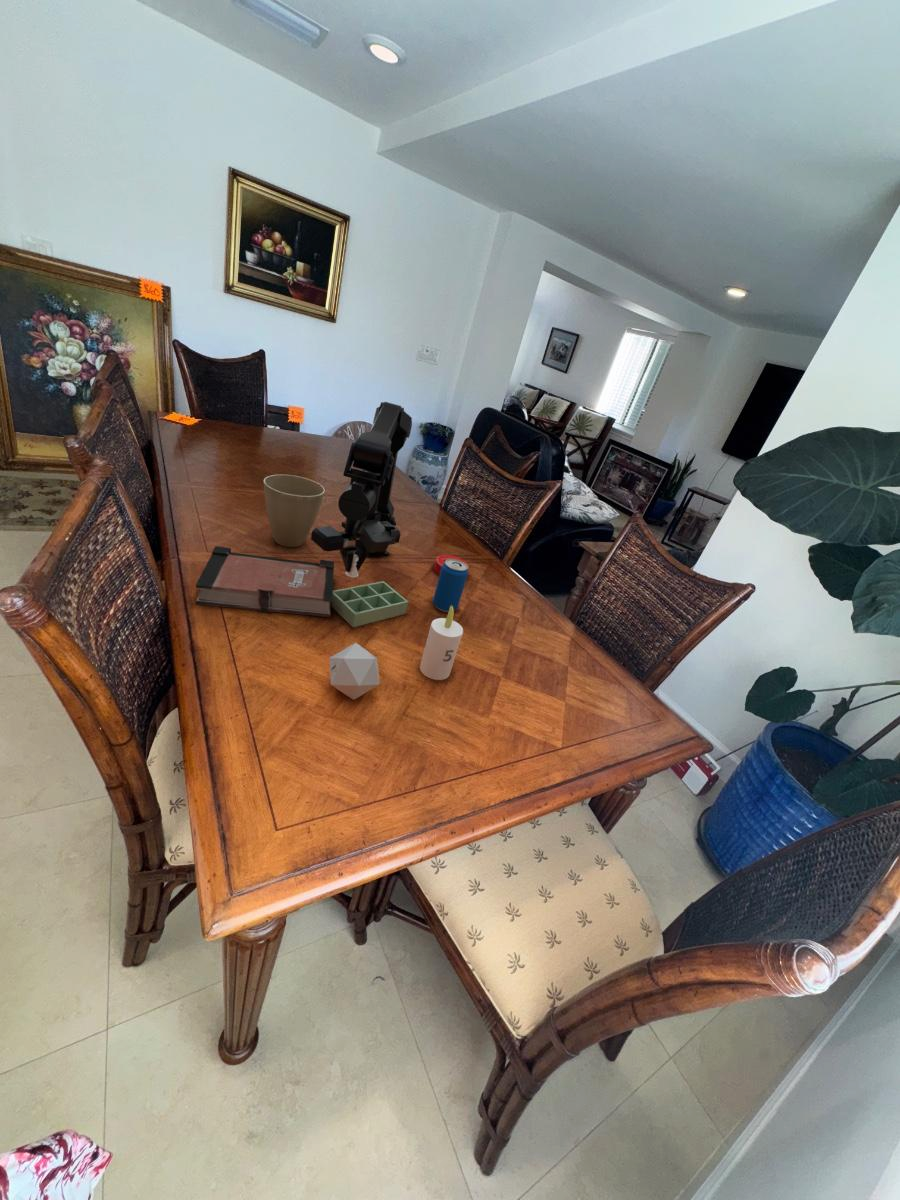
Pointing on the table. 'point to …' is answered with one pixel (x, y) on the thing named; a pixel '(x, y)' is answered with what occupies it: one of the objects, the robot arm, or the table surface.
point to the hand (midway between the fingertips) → (352, 570)
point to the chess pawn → (353, 568)
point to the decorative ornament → (441, 561)
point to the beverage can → (450, 585)
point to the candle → (441, 647)
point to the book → (266, 583)
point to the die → (354, 671)
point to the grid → (368, 603)
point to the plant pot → (291, 507)
